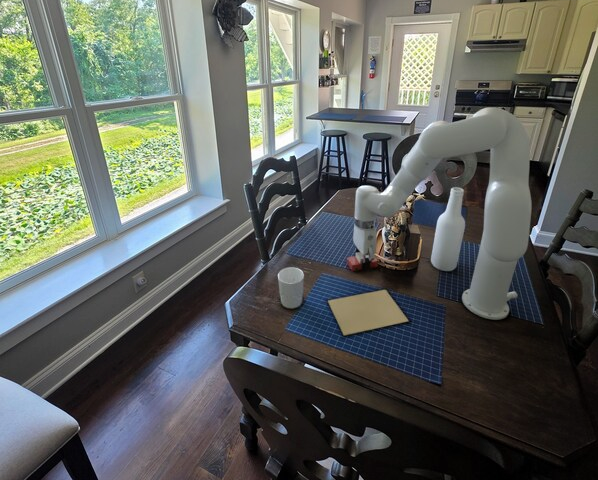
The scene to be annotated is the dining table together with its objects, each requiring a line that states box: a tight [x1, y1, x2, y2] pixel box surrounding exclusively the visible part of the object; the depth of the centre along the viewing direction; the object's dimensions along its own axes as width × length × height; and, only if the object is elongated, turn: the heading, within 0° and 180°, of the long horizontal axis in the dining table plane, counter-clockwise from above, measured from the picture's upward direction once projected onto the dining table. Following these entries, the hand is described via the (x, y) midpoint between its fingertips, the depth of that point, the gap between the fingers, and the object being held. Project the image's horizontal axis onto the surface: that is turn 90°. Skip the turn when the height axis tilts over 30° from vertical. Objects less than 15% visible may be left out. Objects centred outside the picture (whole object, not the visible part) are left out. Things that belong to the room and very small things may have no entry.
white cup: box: [277, 266, 305, 309], centre depth 99 cm, size 8×8×10 cm
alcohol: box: [430, 186, 466, 272], centre depth 112 cm, size 9×9×30 cm
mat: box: [327, 289, 409, 336], centre depth 97 cm, size 20×14×1 cm
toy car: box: [346, 251, 379, 272], centre depth 117 cm, size 10×5×5 cm, turn 104°
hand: (362, 264), depth 117 cm, fingers open, 5 cm apart
